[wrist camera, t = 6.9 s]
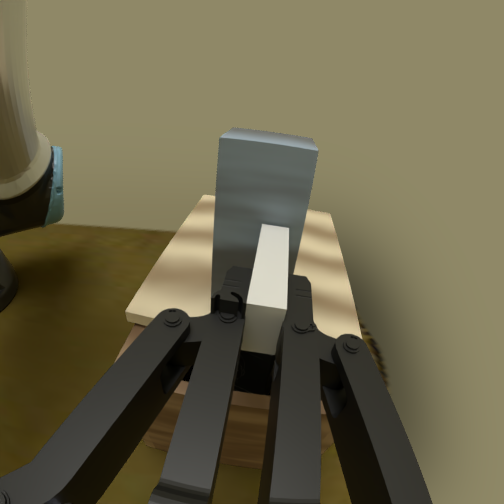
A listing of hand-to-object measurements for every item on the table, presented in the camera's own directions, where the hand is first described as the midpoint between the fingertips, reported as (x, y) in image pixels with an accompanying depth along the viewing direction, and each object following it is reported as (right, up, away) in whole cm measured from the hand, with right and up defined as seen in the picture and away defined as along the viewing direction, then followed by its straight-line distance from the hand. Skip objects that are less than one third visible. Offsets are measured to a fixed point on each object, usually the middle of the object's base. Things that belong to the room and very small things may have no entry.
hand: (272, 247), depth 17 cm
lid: (-1, -1, +13) cm, 13 cm away
